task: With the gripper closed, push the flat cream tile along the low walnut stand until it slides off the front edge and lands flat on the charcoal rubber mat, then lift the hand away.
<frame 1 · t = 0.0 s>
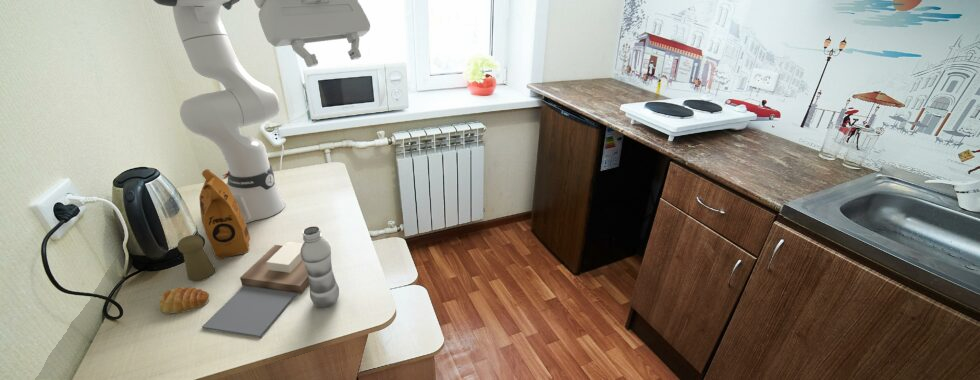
hand: (335, 61, 79), 54 cm above the table, tool tilted 30°, fingers open, 8 cm apart
cork: (202, 274, 106), on the table
tile: (290, 260, 108), point 2 cm above the table, touching stand
mat: (252, 310, 95), on the table
stand: (288, 271, 108), on the table
plastic bottle: (326, 301, 99), on the table
pastry: (185, 304, 97), on the table
coffee package: (231, 247, 117), on the table
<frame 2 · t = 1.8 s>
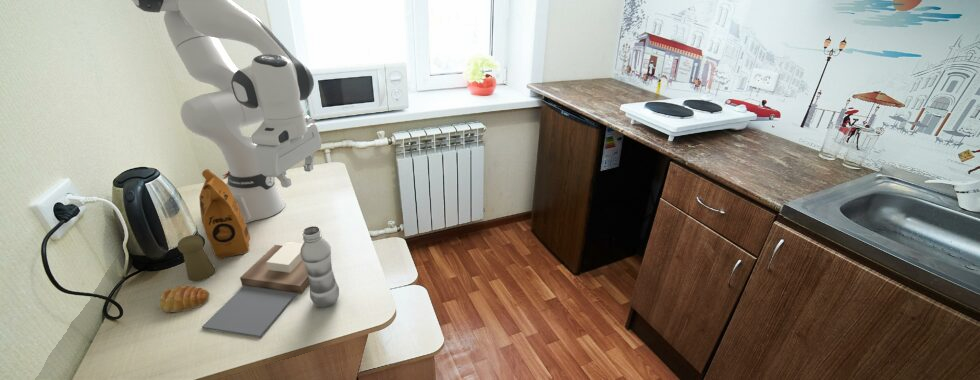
hand: (298, 178, 106), 23 cm above the table, tool pointing down, fingers open, 8 cm apart
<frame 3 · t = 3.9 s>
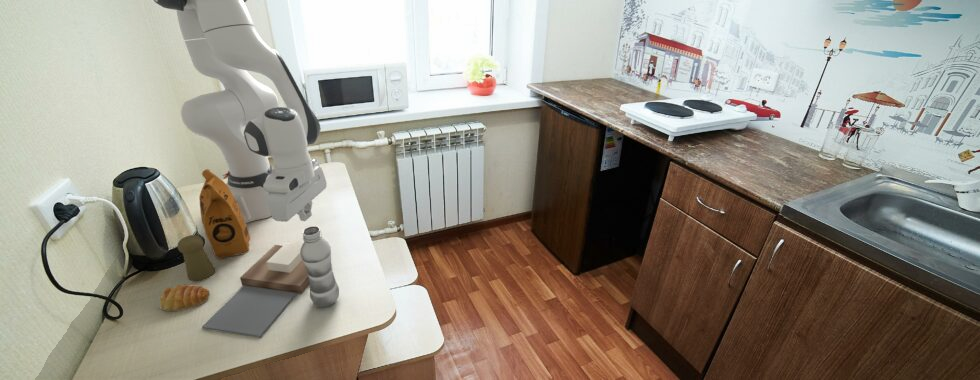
hand: (306, 218, 112), 10 cm above the table, tool pointing down, fingers closed
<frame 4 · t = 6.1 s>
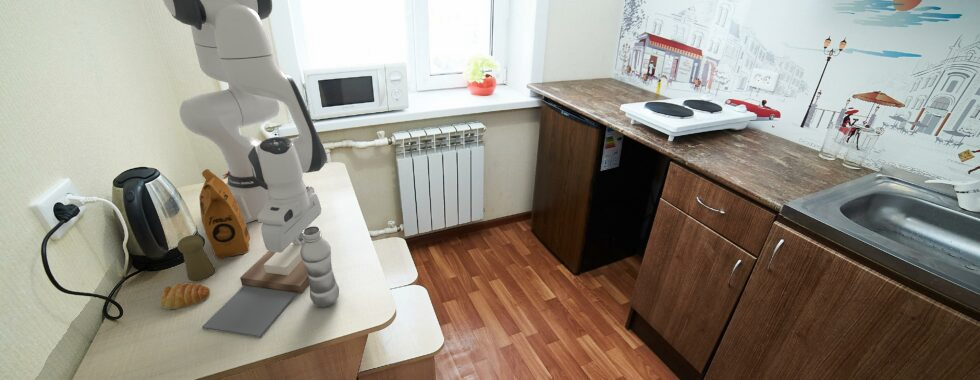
hand: (300, 245, 112), 4 cm above the table, tool pointing down, fingers closed
tile: (287, 262, 107), point 3 cm above the table
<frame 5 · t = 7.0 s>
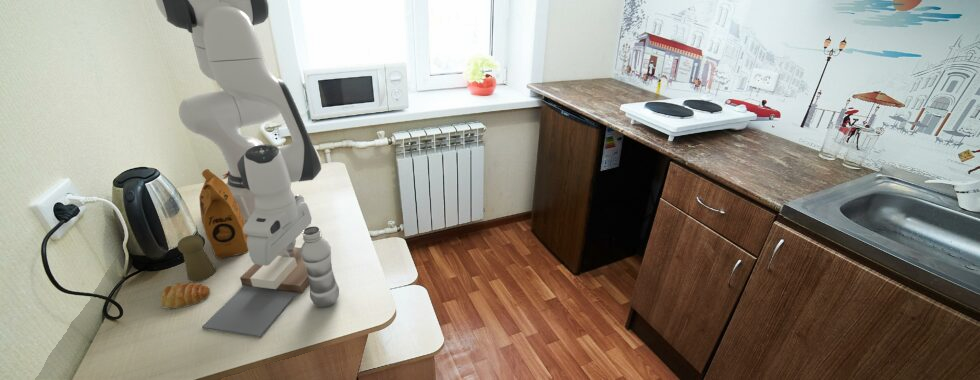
hand: (289, 257, 107), 4 cm above the table, tool pointing down, fingers closed
tile: (275, 275, 103), point 3 cm above the table, touching gripper
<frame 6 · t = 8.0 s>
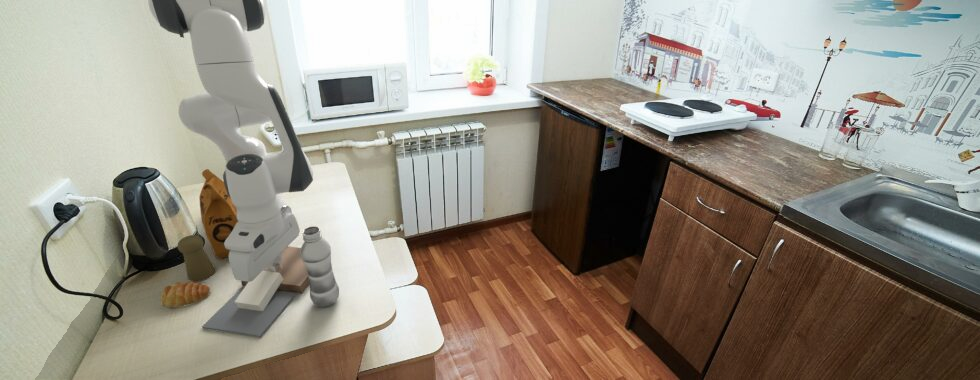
hand: (275, 271, 102), 4 cm above the table, tool pointing down, fingers closed
tile: (261, 293, 98), point 2 cm above the table, tilted 14°, touching mat
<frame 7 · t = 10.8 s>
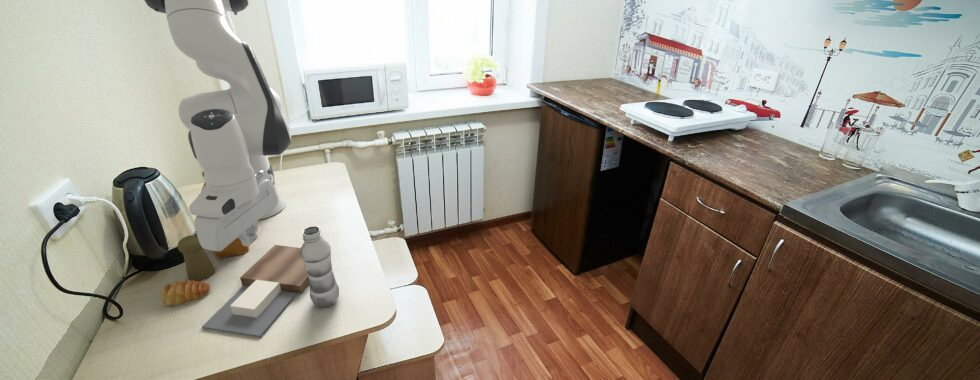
hand: (250, 242, 93), 15 cm above the table, tool pointing down, fingers closed
tile: (258, 301, 97), point 1 cm above the table, touching mat
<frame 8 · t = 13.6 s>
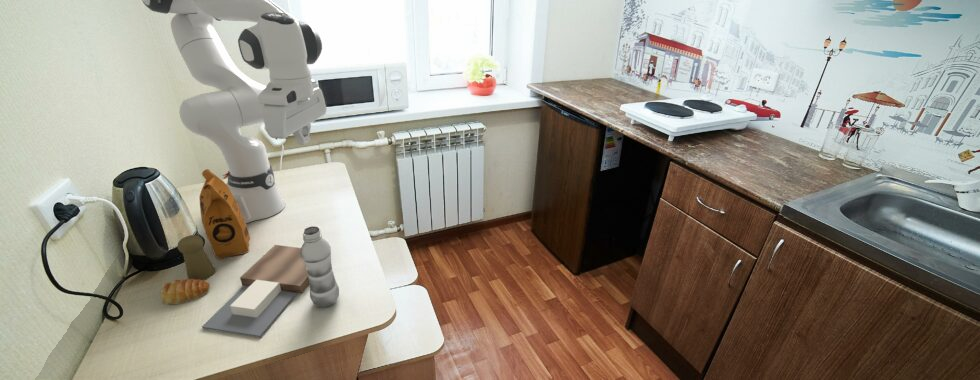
hand: (304, 142, 104), 31 cm above the table, tool pointing down, fingers closed
at the end: tile point 0.6 cm above the table; tile inside the target area (2.0 cm from its centre), point 0.6 cm above the table; tile tilted 0° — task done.
